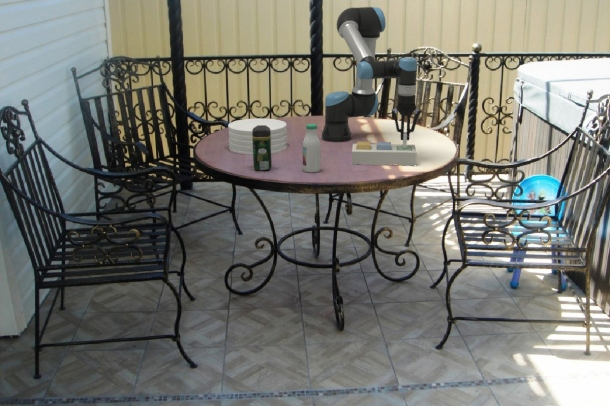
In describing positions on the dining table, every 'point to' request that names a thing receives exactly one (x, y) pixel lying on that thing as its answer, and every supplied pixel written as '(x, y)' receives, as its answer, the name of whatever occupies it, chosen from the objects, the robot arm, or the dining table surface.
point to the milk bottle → (311, 150)
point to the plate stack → (243, 135)
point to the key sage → (404, 148)
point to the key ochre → (364, 145)
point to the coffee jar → (261, 148)
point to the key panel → (384, 156)
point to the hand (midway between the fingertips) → (404, 147)
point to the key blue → (383, 145)
